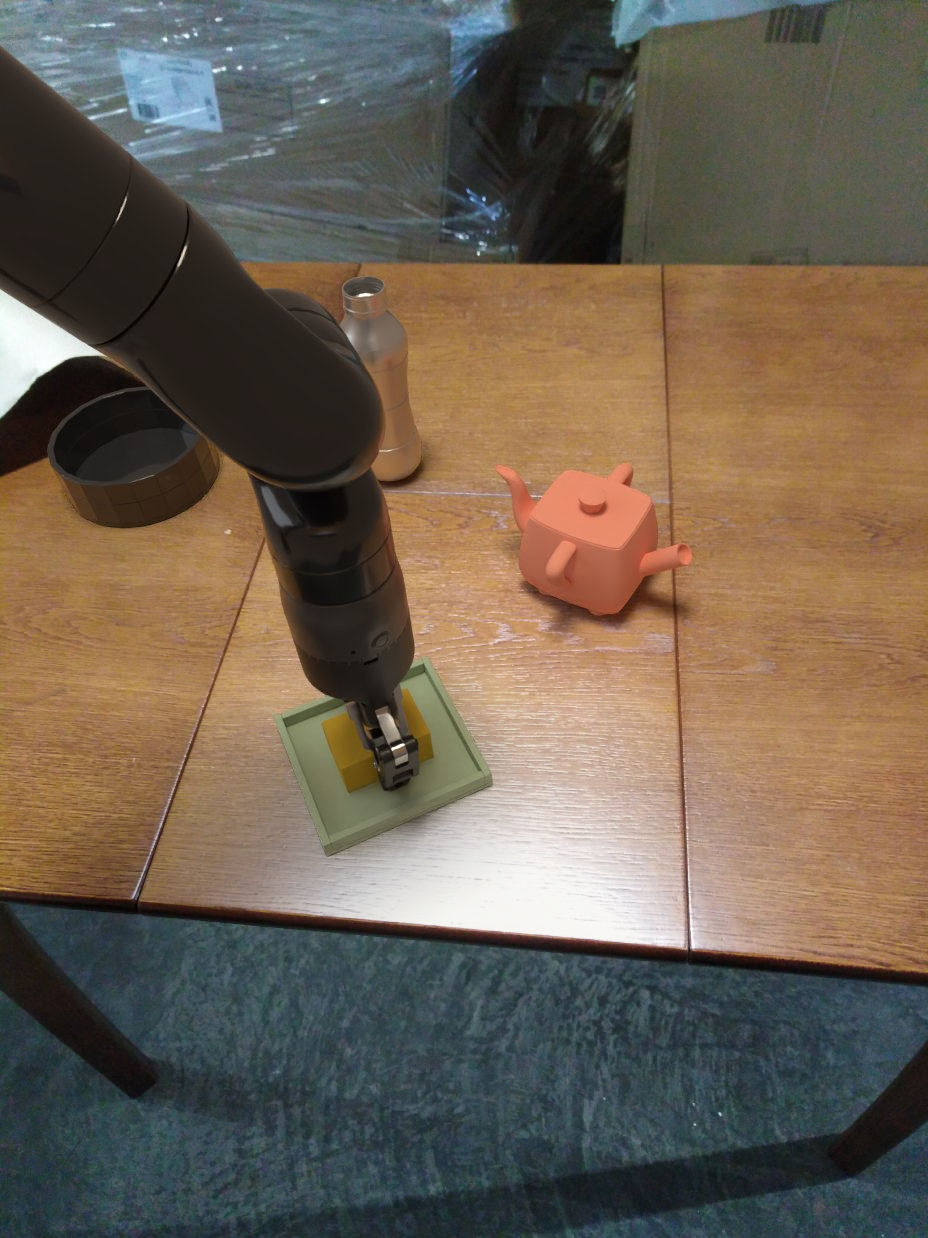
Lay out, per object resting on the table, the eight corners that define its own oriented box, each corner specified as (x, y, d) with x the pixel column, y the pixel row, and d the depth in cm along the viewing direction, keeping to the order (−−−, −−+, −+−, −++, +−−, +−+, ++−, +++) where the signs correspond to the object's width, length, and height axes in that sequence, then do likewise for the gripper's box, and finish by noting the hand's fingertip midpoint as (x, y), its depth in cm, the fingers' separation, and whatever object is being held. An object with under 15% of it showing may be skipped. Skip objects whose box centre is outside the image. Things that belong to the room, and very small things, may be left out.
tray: (326, 857, 64) (322, 846, 63) (277, 727, 71) (273, 716, 70) (492, 784, 67) (492, 773, 66) (429, 667, 74) (427, 655, 73)
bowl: (82, 547, 86) (59, 505, 82) (59, 455, 95) (38, 413, 91) (235, 496, 89) (221, 453, 85) (199, 413, 98) (184, 370, 94)
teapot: (647, 521, 84) (659, 435, 76) (685, 617, 76) (702, 532, 68) (497, 542, 83) (493, 458, 75) (520, 641, 76) (518, 559, 68)
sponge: (348, 793, 67) (340, 769, 64) (328, 747, 69) (320, 722, 67) (434, 757, 68) (430, 732, 66) (411, 713, 71) (407, 687, 68)
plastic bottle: (417, 492, 88) (395, 309, 73) (351, 487, 89) (315, 305, 74) (429, 449, 92) (410, 267, 77) (365, 445, 93) (334, 265, 78)
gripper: (258, 557, 59) (307, 703, 72) (328, 720, 50) (369, 853, 63) (364, 520, 61) (393, 669, 74) (449, 672, 52) (465, 810, 65)
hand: (382, 753), depth 69 cm, fingers closed on tray, 5 cm apart
